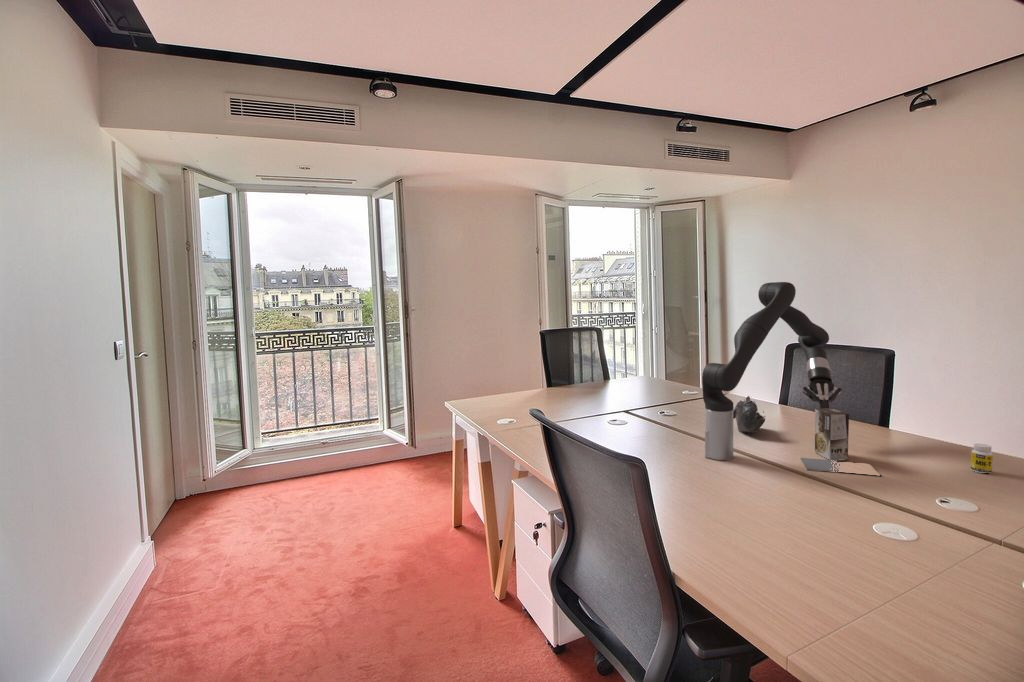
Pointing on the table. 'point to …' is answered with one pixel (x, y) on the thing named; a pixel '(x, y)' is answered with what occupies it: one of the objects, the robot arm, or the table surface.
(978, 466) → the supplement bottle
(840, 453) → the coffee box
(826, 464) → the grey flat sheet
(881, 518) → the table surface
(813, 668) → the table surface
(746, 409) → the dark grey lumpy sculpture
